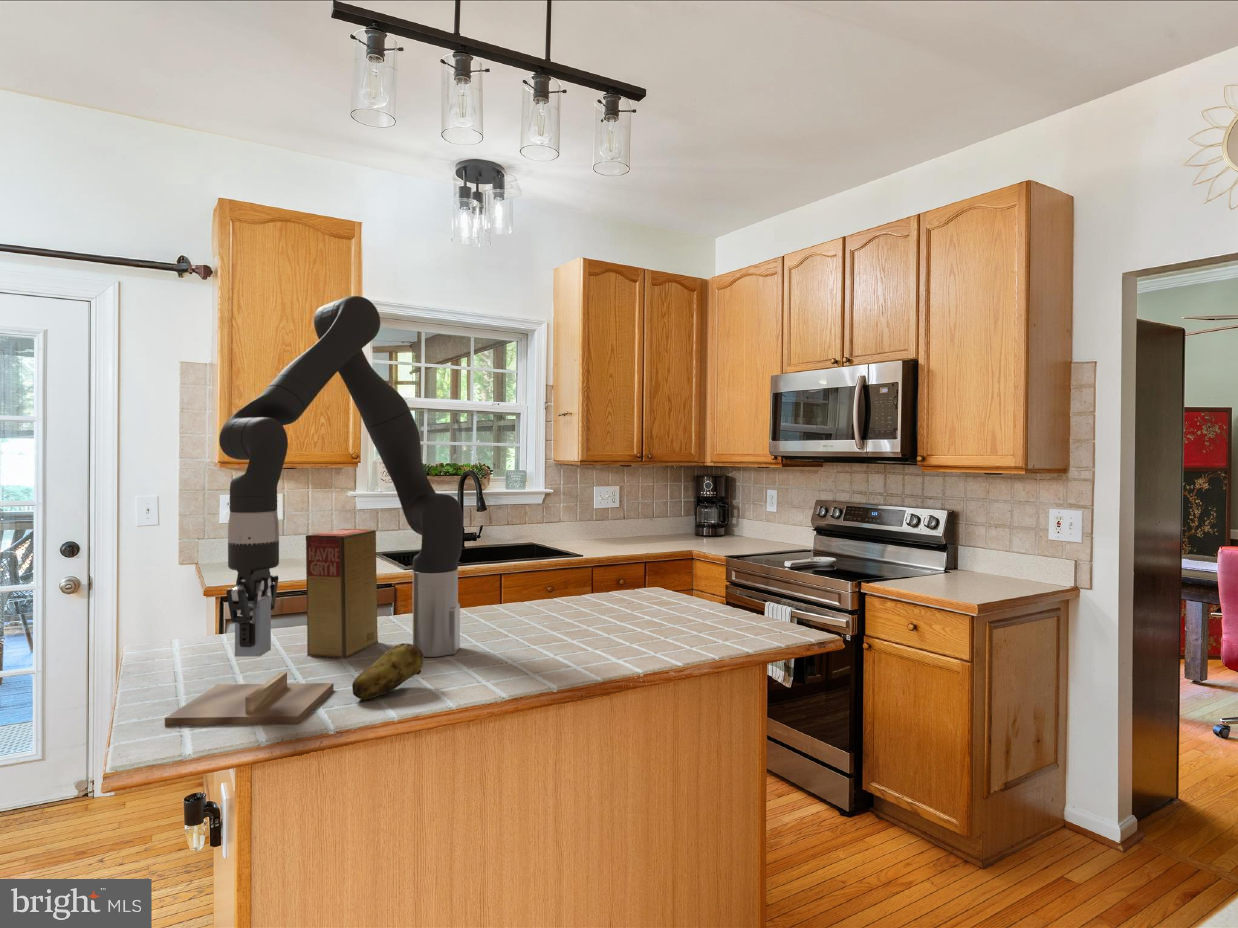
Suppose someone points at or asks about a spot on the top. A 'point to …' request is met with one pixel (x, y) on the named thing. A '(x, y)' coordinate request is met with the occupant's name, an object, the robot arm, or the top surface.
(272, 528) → the robot arm
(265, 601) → the block
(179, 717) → the board
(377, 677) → the potato
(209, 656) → the top surface
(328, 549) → the food packaging
